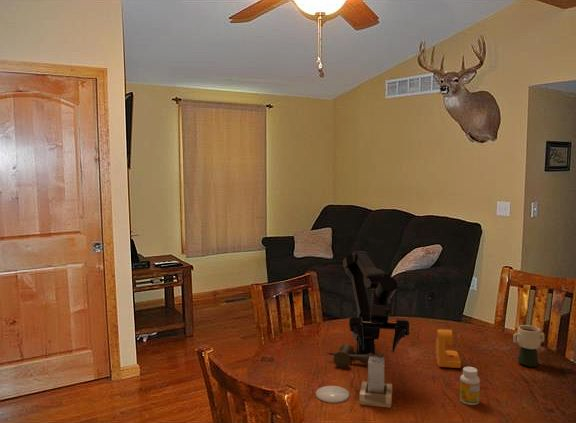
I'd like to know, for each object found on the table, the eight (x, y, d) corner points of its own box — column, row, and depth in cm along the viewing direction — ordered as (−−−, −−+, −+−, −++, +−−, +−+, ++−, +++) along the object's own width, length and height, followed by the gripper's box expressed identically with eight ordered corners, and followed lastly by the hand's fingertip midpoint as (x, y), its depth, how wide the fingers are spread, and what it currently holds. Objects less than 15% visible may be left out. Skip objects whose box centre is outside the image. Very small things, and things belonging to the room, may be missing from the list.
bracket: (461, 370, 162) (462, 336, 161) (439, 368, 163) (439, 334, 162) (456, 358, 173) (457, 325, 172) (435, 356, 174) (436, 324, 173)
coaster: (309, 392, 147) (309, 390, 147) (335, 384, 152) (335, 383, 152) (329, 406, 138) (329, 404, 138) (355, 397, 144) (355, 395, 144)
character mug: (537, 360, 170) (538, 324, 168) (549, 368, 163) (550, 331, 161) (507, 360, 169) (508, 325, 168) (517, 369, 162) (519, 332, 161)
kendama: (381, 374, 161) (323, 366, 167) (384, 364, 170) (329, 356, 176) (381, 357, 160) (324, 349, 167) (385, 347, 169) (330, 340, 176)
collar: (362, 390, 148) (362, 381, 148) (392, 393, 146) (392, 384, 146) (359, 404, 139) (359, 394, 139) (390, 407, 137) (391, 397, 137)
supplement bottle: (456, 397, 143) (457, 365, 142) (473, 396, 143) (474, 365, 143) (464, 406, 138) (465, 373, 137) (482, 405, 138) (483, 372, 137)
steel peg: (369, 394, 145) (369, 356, 144) (384, 396, 144) (384, 357, 143) (367, 401, 141) (368, 362, 140) (383, 403, 140) (383, 363, 139)
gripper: (349, 292, 154) (345, 337, 144) (409, 295, 149) (409, 341, 139) (352, 309, 162) (348, 352, 152) (409, 312, 157) (408, 357, 148)
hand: (377, 350), depth 148 cm, fingers open, 9 cm apart
